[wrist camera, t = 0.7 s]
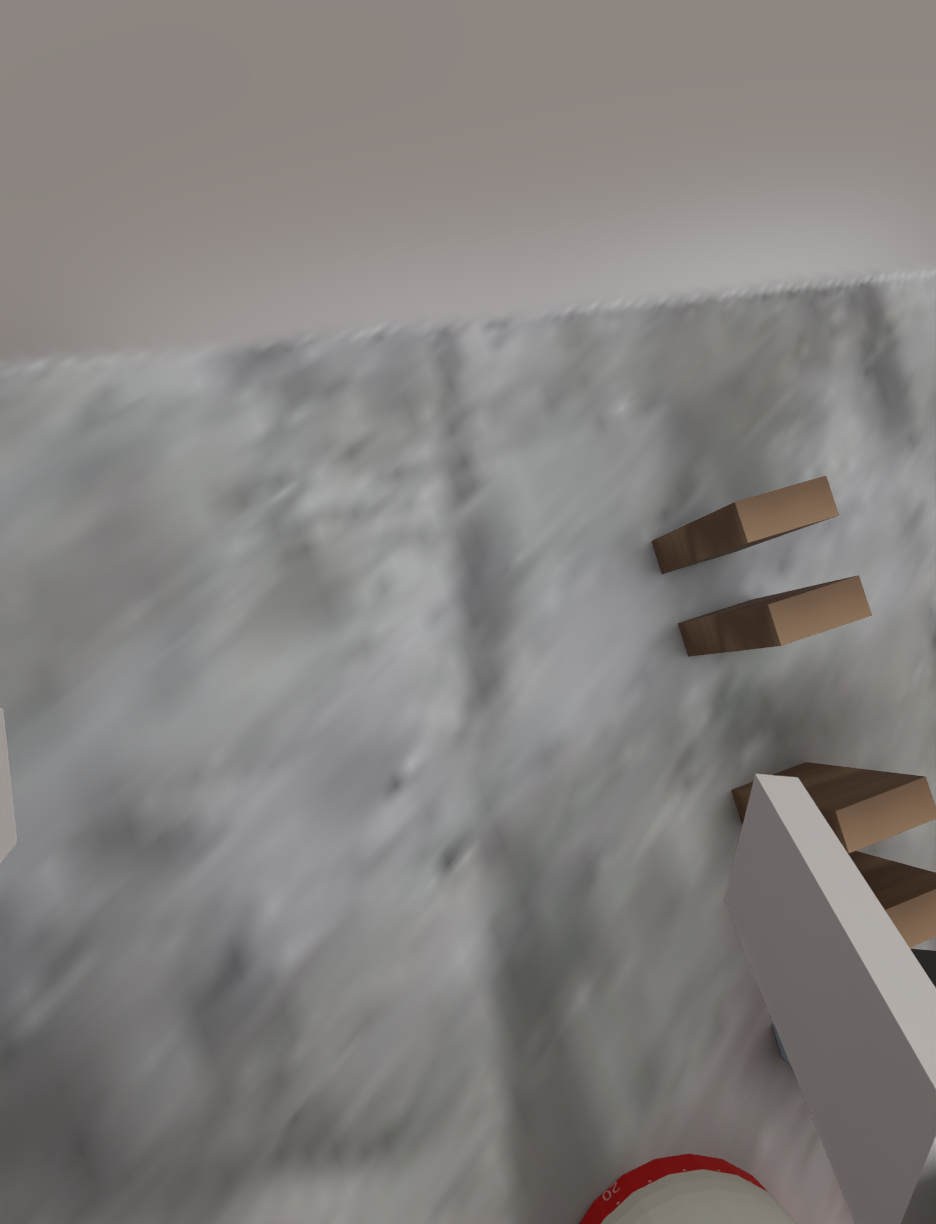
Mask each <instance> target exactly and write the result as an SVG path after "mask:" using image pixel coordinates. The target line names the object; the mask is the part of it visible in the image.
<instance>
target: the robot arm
mask: <svg viewBox="0 0 936 1224" xmlns="http://www.w3.org/2000/svg"><path fill="white" fill-rule="evenodd" d="M16 844H17V833H16V824H15V815H14V805H13V796H12V786H11V777H10V768H9V758H8V749H7V739H6V730H5V720H4V711H3V709H2V708H0V864H1V862H2V861H3V860H4V859H5V857H6V856H7V855H8V854H9V852H10V851H11V850H12V849H13V847H14V846H15V845H16ZM724 902H725V904H726V907H727V909H728V912H729V914H730V916H731V919H732V921H733V924H734V926H735V929H736V931H737V934H738V936H739V939H740V941H741V944H742V946H743V949H744V951H745V953H746V956H747V958H748V961H749V963H750V966H751V968H752V971H753V973H754V976H755V978H756V981H757V983H758V986H759V988H760V991H761V993H762V995H763V998H764V1000H765V1003H766V1005H767V1008H768V1010H769V1013H770V1015H771V1018H772V1020H773V1023H774V1025H775V1028H776V1030H777V1032H778V1035H779V1037H780V1040H781V1042H782V1045H783V1047H784V1050H785V1052H786V1055H787V1057H788V1060H789V1062H790V1065H791V1067H792V1070H793V1072H794V1074H795V1077H796V1079H797V1082H798V1084H799V1087H800V1089H801V1092H802V1094H803V1097H804V1099H805V1102H806V1104H807V1107H808V1109H809V1111H810V1114H811V1116H812V1119H813V1121H814V1124H815V1126H816V1129H817V1131H818V1134H819V1136H820V1139H821V1141H822V1144H823V1146H824V1149H825V1151H826V1153H827V1156H828V1158H829V1161H830V1163H831V1166H832V1168H833V1171H834V1173H835V1176H836V1178H837V1181H838V1183H839V1186H840V1188H841V1190H842V1193H843V1195H844V1198H845V1200H846V1203H847V1205H848V1208H849V1210H850V1213H851V1215H852V1218H853V1220H854V1223H855V1224H936V951H930V950H918V949H910V948H909V946H908V945H907V943H906V942H905V940H904V939H903V937H902V936H901V934H900V933H899V931H898V930H897V928H896V927H895V925H894V924H893V922H892V920H891V919H890V917H889V916H888V914H887V913H886V911H885V910H884V908H883V907H882V905H881V904H880V902H879V901H878V899H877V898H876V896H875V894H874V893H873V891H872V890H871V888H870V887H869V885H868V884H867V882H866V881H865V879H864V878H863V876H862V875H861V873H860V871H859V870H858V868H857V867H856V865H855V864H854V862H853V861H852V859H851V858H850V856H849V855H848V853H847V852H846V850H845V849H844V847H843V845H842V844H841V842H840V841H839V839H838V838H837V836H836V835H835V833H834V832H833V830H832V829H831V827H830V826H829V824H828V823H827V821H826V819H825V818H824V816H823V815H822V813H821V812H820V810H819V809H818V807H817V806H816V804H815V803H814V801H813V800H812V798H811V797H810V795H809V793H808V792H807V790H806V789H805V787H804V786H803V784H802V783H801V781H800V780H799V778H798V777H787V776H775V775H764V774H755V777H754V781H753V785H752V789H751V793H750V797H749V802H748V806H747V810H746V814H745V818H744V822H743V826H742V830H741V834H740V838H739V842H738V846H737V850H736V854H735V858H734V862H733V866H732V870H731V874H730V879H729V883H728V887H727V891H726V895H725V899H724Z"/></svg>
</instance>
